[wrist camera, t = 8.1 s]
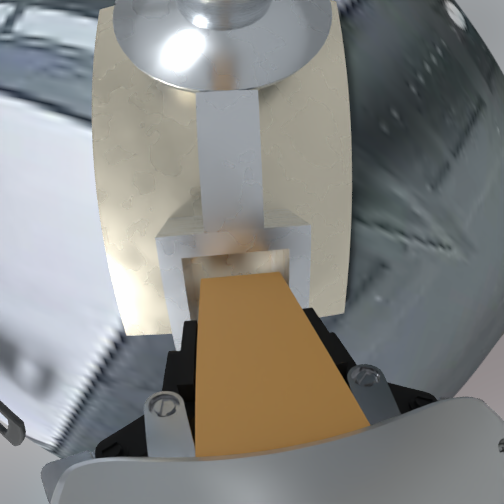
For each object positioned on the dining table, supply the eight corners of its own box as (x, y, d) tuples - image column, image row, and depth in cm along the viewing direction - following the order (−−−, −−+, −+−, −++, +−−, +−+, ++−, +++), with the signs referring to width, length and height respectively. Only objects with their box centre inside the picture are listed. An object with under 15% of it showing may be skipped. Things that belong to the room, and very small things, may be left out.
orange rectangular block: (200, 278, 14) (195, 459, 5) (279, 271, 15) (372, 427, 5) (209, 343, 15) (219, 511, 6) (279, 335, 16) (341, 490, 6)
